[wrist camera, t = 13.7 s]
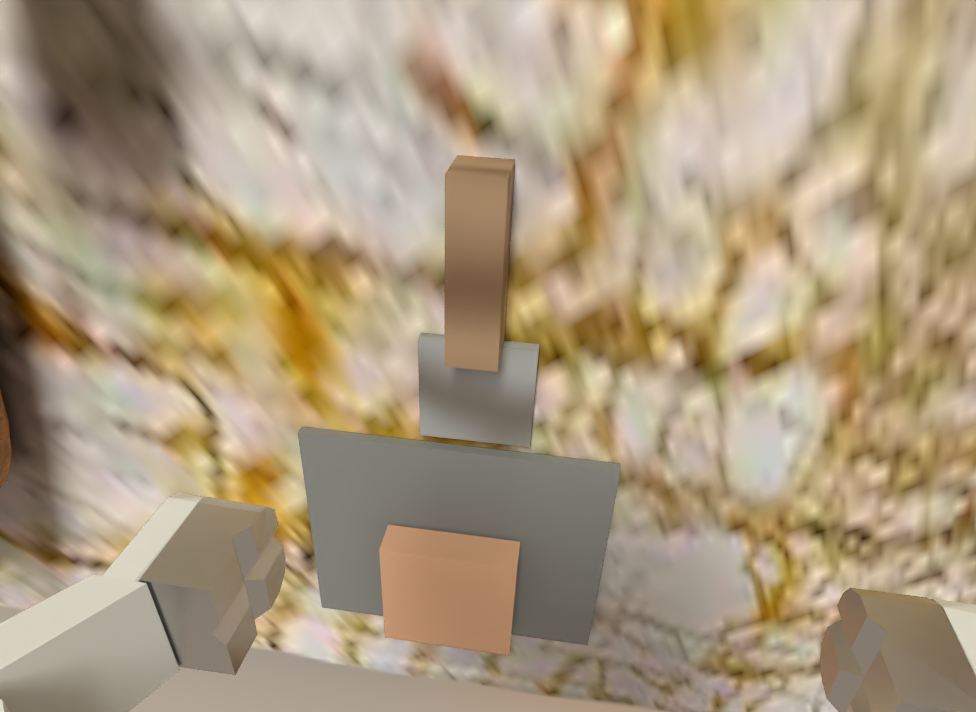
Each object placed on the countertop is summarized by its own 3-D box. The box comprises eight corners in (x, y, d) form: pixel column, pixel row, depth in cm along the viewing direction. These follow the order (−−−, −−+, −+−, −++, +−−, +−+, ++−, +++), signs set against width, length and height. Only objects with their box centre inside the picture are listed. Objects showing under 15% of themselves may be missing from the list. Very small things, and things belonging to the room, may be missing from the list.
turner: (418, 152, 29) (401, 170, 26) (555, 161, 28) (552, 182, 26) (423, 426, 37) (410, 461, 34) (531, 438, 36) (526, 474, 34)
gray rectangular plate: (620, 463, 36) (620, 470, 35) (587, 636, 44) (587, 644, 43) (301, 426, 38) (297, 433, 37) (325, 600, 45) (322, 607, 45)
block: (516, 568, 37) (508, 655, 41) (520, 539, 39) (512, 625, 43) (379, 549, 38) (384, 637, 42) (388, 522, 40) (393, 609, 44)
